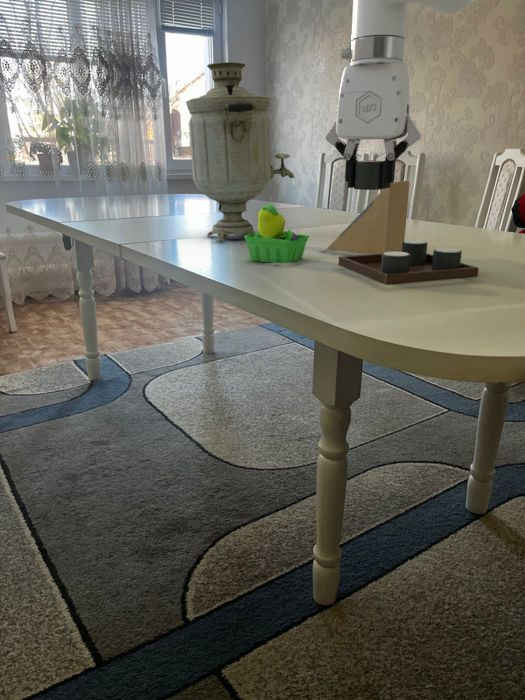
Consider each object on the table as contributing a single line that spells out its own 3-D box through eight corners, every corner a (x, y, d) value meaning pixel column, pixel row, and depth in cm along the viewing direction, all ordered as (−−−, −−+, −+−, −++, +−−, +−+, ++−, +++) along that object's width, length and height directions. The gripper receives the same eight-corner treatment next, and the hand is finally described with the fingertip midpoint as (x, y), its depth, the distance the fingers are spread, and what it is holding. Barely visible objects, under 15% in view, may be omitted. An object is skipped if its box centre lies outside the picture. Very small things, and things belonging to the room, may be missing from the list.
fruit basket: (310, 260, 110) (311, 203, 106) (288, 268, 103) (289, 206, 99) (262, 255, 116) (262, 200, 112) (239, 262, 109) (237, 204, 105)
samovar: (296, 247, 125) (299, 52, 112) (183, 247, 126) (173, 54, 112) (293, 230, 153) (295, 73, 140) (200, 230, 154) (193, 74, 140)
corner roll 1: (414, 279, 90) (416, 254, 89) (389, 281, 89) (391, 256, 87) (399, 274, 94) (401, 250, 93) (375, 276, 93) (377, 252, 91)
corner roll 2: (430, 264, 102) (432, 242, 100) (409, 266, 100) (411, 244, 99) (416, 260, 106) (418, 239, 104) (396, 262, 105) (397, 240, 103)
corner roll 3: (464, 275, 93) (467, 251, 91) (441, 277, 91) (444, 252, 90) (448, 270, 97) (450, 247, 96) (426, 271, 96) (428, 248, 94)
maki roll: (389, 189, 83) (391, 160, 81) (362, 190, 81) (364, 160, 80) (374, 187, 87) (376, 160, 85) (348, 188, 85) (350, 160, 84)
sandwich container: (344, 245, 127) (347, 178, 122) (404, 252, 117) (410, 180, 112) (323, 250, 121) (325, 180, 116) (384, 258, 111) (390, 182, 106)
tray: (477, 279, 92) (479, 267, 91) (385, 288, 87) (386, 275, 86) (418, 261, 108) (419, 251, 107) (338, 267, 103) (338, 256, 102)
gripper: (312, 56, 78) (309, 187, 84) (433, 46, 71) (419, 190, 77) (329, 63, 84) (325, 185, 91) (442, 54, 78) (429, 187, 84)
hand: (369, 186), depth 84 cm, fingers closed on maki roll, 4 cm apart
